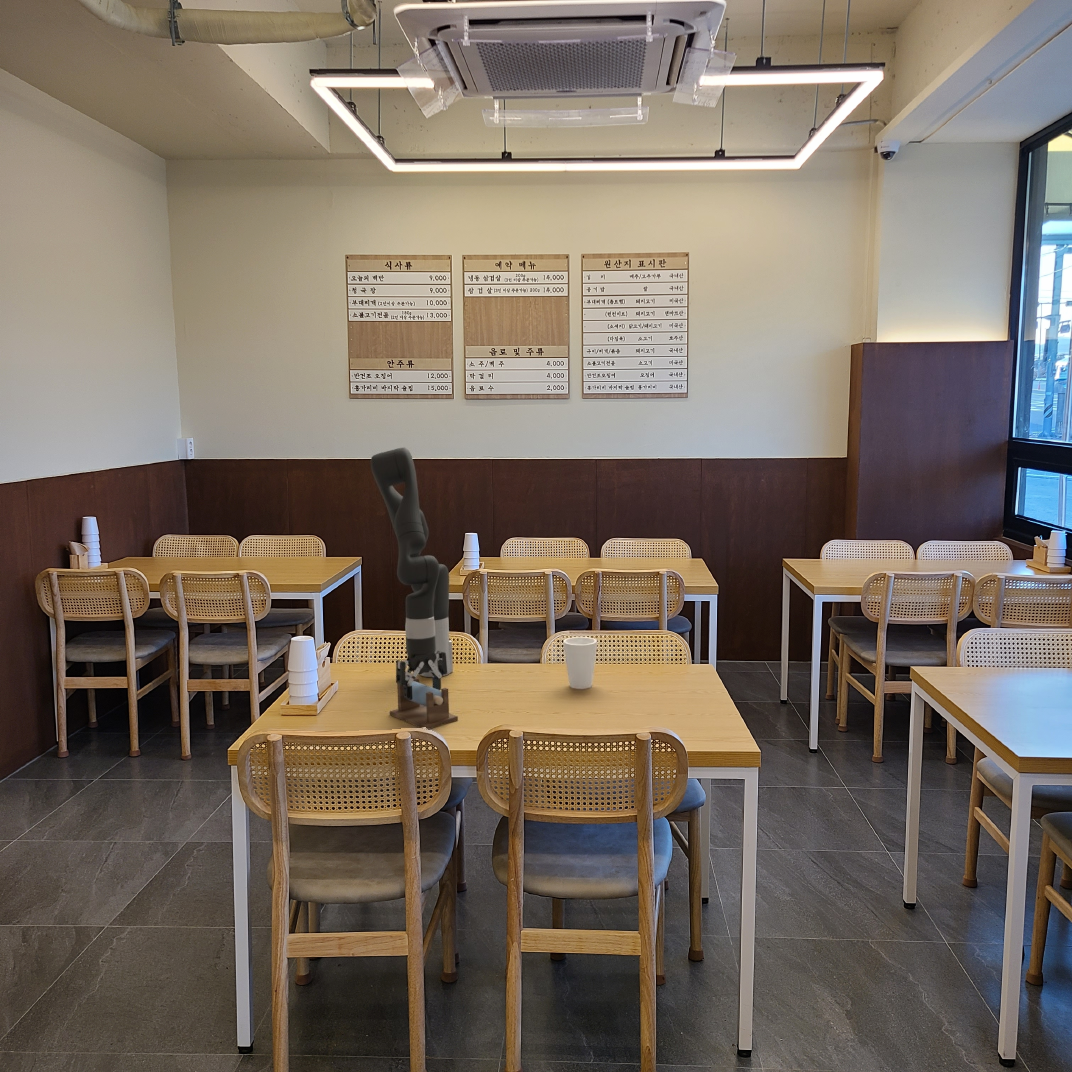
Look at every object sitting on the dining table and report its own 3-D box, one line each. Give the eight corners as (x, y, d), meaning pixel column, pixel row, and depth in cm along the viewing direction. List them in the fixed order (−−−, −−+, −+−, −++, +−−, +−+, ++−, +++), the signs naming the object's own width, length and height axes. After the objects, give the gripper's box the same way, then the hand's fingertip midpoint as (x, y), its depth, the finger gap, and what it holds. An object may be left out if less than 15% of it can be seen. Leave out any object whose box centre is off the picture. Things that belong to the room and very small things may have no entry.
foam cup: (602, 682, 267) (601, 638, 265) (590, 692, 259) (589, 646, 257) (571, 679, 271) (570, 635, 269) (559, 688, 263) (558, 643, 261)
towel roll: (398, 699, 243) (399, 680, 243) (414, 697, 246) (415, 678, 246) (431, 711, 232) (432, 691, 232) (447, 709, 236) (448, 690, 235)
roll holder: (389, 714, 242) (388, 683, 241) (421, 706, 249) (420, 675, 248) (425, 729, 231) (424, 696, 229) (457, 720, 237) (456, 687, 236)
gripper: (434, 626, 244) (436, 686, 246) (388, 636, 235) (391, 698, 237) (451, 631, 239) (453, 692, 241) (405, 641, 229) (407, 705, 232)
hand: (422, 695), depth 239 cm, fingers open, 8 cm apart
